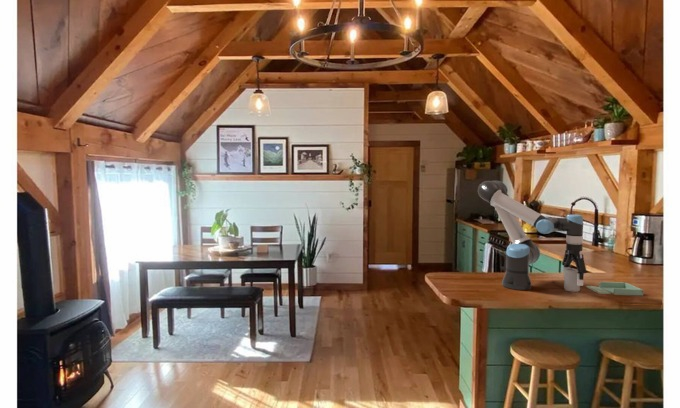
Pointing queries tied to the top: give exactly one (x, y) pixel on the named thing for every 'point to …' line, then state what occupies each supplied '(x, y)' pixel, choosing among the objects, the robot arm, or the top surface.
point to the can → (571, 280)
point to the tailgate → (598, 290)
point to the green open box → (620, 288)
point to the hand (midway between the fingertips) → (573, 282)
